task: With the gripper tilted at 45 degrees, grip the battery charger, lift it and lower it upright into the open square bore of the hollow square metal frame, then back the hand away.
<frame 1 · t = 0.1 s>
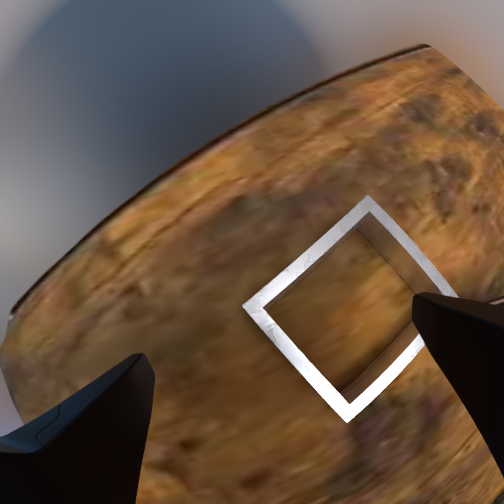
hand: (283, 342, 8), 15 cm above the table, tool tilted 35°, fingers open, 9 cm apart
hollow square metal frame: (351, 309, 23), on the table
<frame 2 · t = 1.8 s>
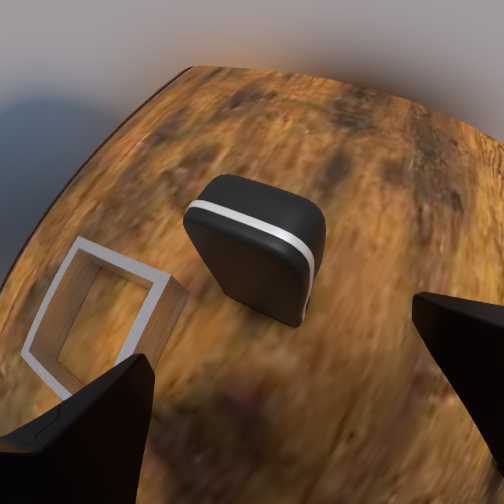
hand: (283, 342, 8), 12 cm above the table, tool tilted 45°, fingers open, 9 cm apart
battery charger: (270, 292, 23), on the table
hollow square metal frame: (107, 334, 22), on the table
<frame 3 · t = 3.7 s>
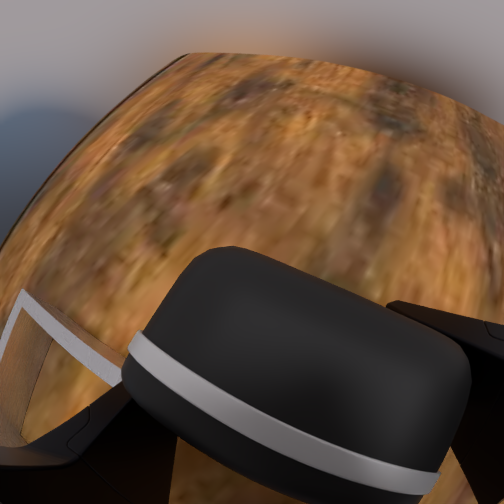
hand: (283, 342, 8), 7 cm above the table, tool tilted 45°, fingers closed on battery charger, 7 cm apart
battery charger: (295, 390, 14), on the table, touching gripper
hollow square metal frame: (70, 421, 13), on the table
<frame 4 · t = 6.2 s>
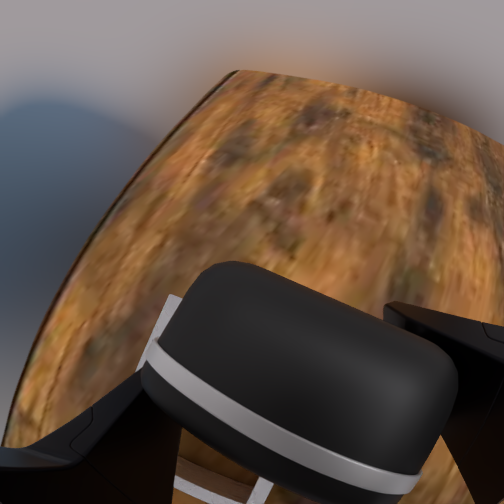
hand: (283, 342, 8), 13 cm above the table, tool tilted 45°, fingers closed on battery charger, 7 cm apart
battery charger: (314, 381, 14), point 6 cm above the table, touching gripper
hollow square metal frame: (221, 407, 19), on the table
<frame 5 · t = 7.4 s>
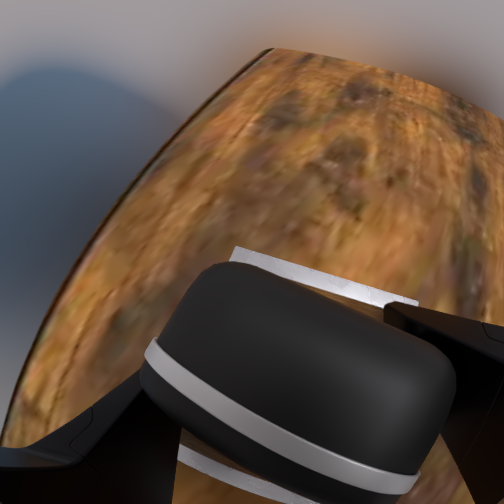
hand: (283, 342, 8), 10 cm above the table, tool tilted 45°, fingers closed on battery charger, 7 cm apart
battery charger: (312, 381, 14), point 3 cm above the table, touching gripper
hollow square metal frame: (289, 385, 17), on the table
when the fingers open (8 cm above the table, at t = 8.5 s): battery charger stays where it is, resting in hollow square metal frame.
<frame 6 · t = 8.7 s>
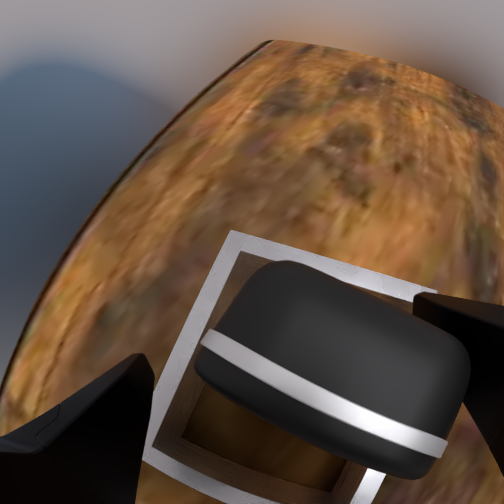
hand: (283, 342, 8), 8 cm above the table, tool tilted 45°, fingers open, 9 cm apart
battery charger: (312, 385, 15), resting in hollow square metal frame
hollow square metal frame: (291, 388, 15), on the table
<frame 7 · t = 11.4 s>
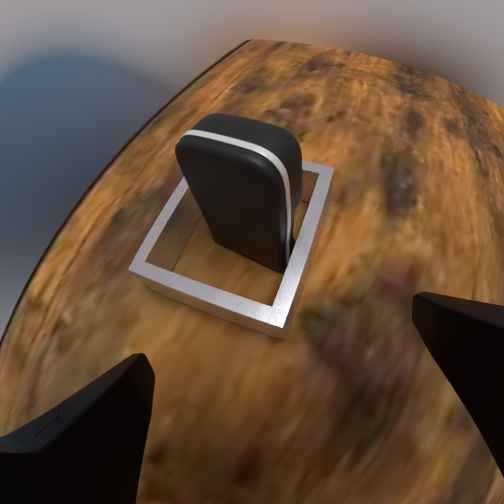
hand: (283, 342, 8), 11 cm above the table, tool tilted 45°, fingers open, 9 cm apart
battery charger: (258, 241, 24), resting in hollow square metal frame
hollow square metal frame: (243, 242, 24), on the table
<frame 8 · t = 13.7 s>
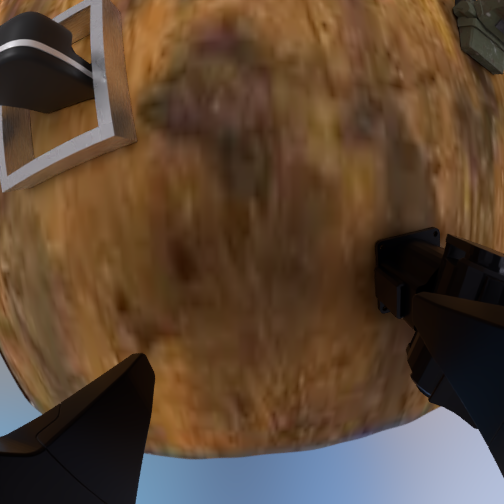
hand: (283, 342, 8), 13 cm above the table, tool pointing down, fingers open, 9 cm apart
mechanical leg: (474, 35, 15), on the table
battery charger: (78, 85, 17), resting in hollow square metal frame
hollow square metal frame: (67, 95, 17), on the table
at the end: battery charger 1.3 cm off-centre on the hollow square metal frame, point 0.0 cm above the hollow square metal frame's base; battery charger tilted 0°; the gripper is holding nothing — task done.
